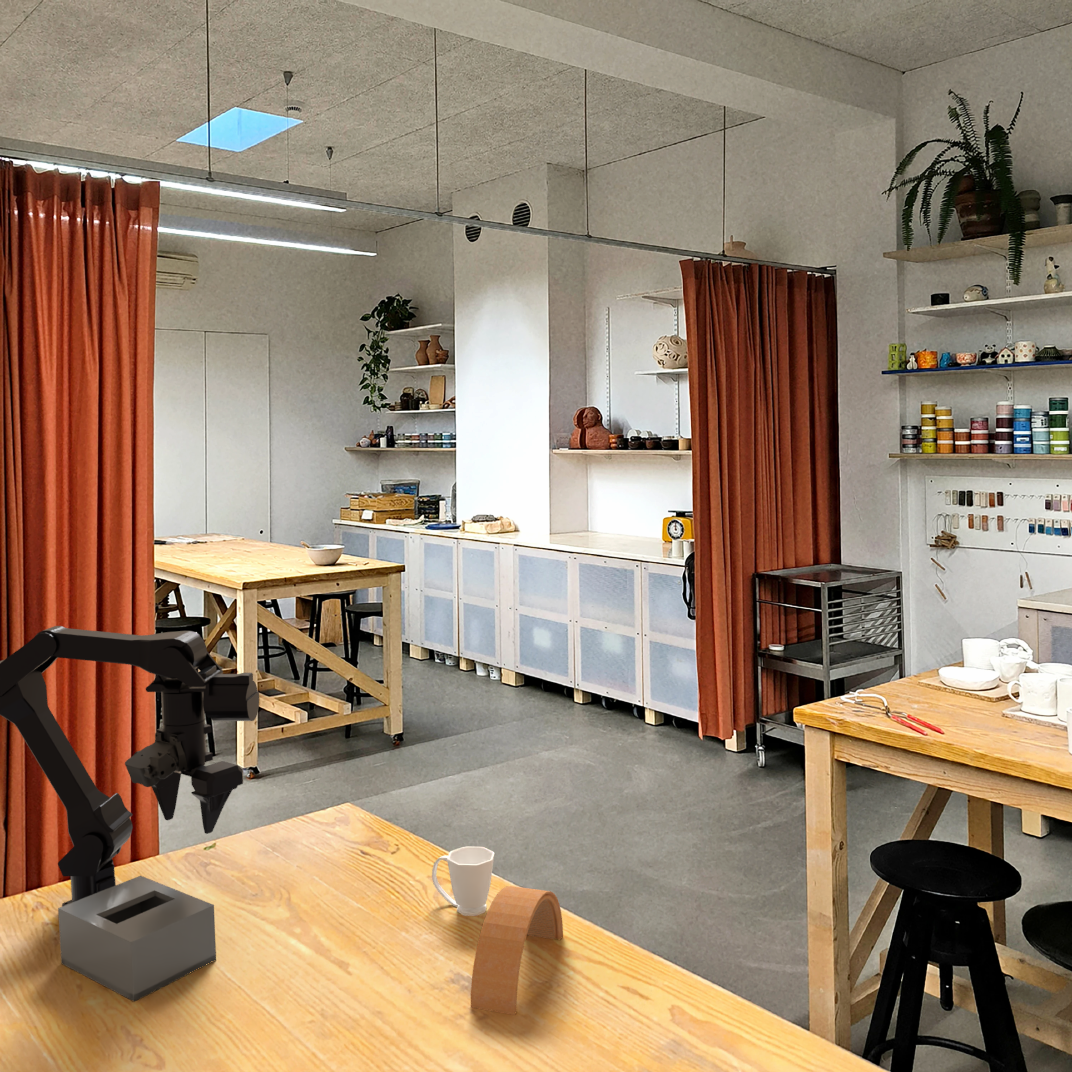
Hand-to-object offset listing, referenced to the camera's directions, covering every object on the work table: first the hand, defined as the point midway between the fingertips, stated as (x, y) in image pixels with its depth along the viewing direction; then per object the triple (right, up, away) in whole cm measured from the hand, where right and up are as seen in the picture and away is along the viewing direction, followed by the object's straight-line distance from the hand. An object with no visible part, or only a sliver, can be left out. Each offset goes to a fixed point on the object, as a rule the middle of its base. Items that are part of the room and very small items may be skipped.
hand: (188, 826), depth 149 cm
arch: (+48, -14, -17) cm, 53 cm away
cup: (+40, -12, 0) cm, 42 cm away
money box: (-2, -14, -15) cm, 20 cm away
